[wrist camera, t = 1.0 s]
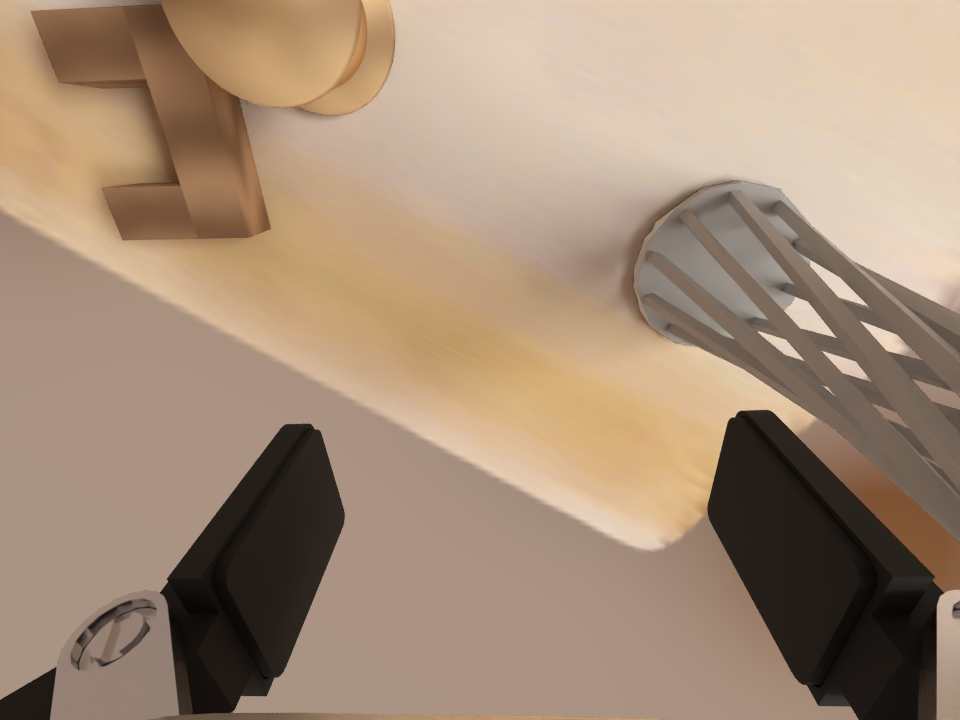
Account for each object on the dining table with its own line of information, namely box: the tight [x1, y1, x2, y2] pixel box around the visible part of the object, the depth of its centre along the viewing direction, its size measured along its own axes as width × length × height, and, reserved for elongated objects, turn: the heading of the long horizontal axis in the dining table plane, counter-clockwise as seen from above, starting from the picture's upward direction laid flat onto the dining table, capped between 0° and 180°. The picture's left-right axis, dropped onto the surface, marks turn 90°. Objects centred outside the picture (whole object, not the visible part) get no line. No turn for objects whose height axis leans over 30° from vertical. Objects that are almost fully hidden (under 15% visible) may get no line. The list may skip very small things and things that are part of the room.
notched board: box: [31, 4, 271, 240], centre depth 31 cm, size 14×10×4 cm
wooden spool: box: [161, 0, 395, 115], centre depth 25 cm, size 10×10×9 cm
